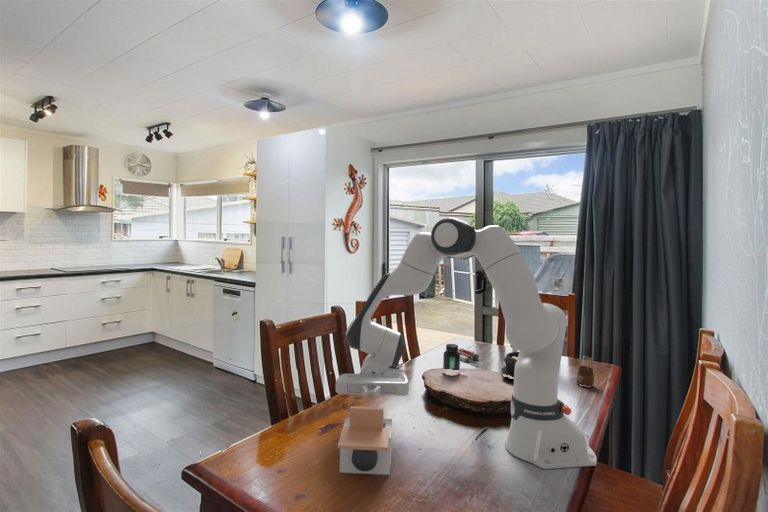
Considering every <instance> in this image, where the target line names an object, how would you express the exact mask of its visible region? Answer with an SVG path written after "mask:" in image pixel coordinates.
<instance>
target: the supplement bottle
mask: <svg viewBox="0 0 768 512" xmlns="http://www.w3.org/2000/svg"><path fill="white" fill-rule="evenodd" d="M458 349H459V345H458V344H455V343H447V344H446V346H445V351H444V352H443V359H442V370H443V369H452V370H461V368H460V367H461V360H460V353H459V352H458Z"/></svg>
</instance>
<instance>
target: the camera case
mask: <svg viewBox="0 0 768 512" xmlns="http://www.w3.org/2000/svg"><path fill="white" fill-rule="evenodd" d="M344 426H350V416H348V417H347V416H346V417H345V420H344V423H343V426H342V429H341V431H340V436H341V433H342V430H343V427H344ZM383 428H390V432H389V446H388V451H377V450H355V449H339V473H342V474H343V473H344V474H361V475H362V474H366V475H367V474H368V475H384V476H385V475H386V476H390V475H391V462H392V441H393V440H392V437H393V435H392V431H393V419H392V418H383Z"/></svg>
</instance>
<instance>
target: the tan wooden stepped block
mask: <svg viewBox="0 0 768 512" xmlns="http://www.w3.org/2000/svg"><path fill="white" fill-rule="evenodd" d="M349 417H350V426H344V425H343V426H344V427H343V426H342V429H343V430H342V429H341V432H342V433H341V432H340V435H341V436H340V437H339V440H338V443H337V449H338V450H340V449H355V450H377V451H388V446H389V432H390V428H383V419H384V407H374V406H373V407H372V406H354V405H353V406H352V405H351V406H350V407H349Z"/></svg>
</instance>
